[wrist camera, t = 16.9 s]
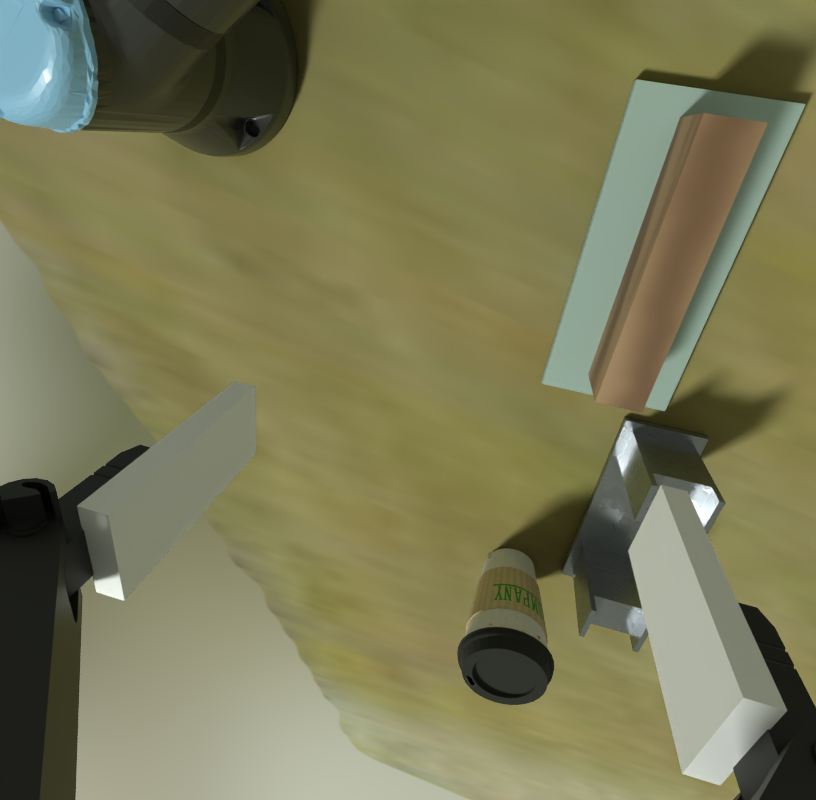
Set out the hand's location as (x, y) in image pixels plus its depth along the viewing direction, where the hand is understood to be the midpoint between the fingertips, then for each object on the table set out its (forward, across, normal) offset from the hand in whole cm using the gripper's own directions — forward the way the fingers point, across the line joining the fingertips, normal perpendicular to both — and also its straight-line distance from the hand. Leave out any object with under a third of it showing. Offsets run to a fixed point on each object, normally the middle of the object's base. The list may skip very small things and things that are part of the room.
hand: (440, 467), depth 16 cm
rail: (+34, +13, +2) cm, 36 cm away
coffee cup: (+35, +10, -37) cm, 52 cm away
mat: (+35, +13, +2) cm, 37 cm away
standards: (+35, +20, -24) cm, 47 cm away
